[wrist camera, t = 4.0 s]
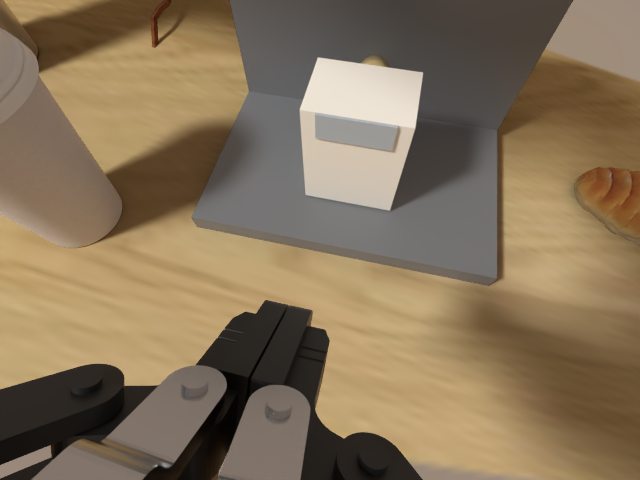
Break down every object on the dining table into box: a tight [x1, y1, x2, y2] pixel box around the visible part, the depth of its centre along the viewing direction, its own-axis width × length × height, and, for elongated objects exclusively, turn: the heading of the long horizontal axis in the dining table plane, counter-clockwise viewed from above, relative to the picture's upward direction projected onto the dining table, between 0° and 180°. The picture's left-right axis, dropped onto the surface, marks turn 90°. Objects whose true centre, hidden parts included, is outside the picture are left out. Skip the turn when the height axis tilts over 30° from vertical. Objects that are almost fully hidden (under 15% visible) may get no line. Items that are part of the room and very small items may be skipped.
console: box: [192, 0, 573, 286], centre depth 28 cm, size 24×20×14 cm
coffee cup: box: [0, 28, 122, 248], centre depth 25 cm, size 10×10×15 cm
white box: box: [300, 57, 423, 211], centre depth 27 cm, size 7×5×9 cm
